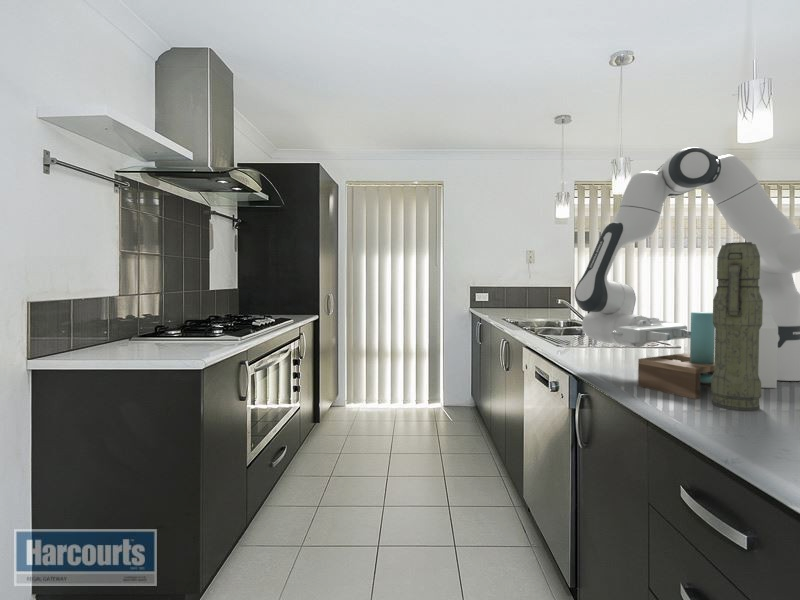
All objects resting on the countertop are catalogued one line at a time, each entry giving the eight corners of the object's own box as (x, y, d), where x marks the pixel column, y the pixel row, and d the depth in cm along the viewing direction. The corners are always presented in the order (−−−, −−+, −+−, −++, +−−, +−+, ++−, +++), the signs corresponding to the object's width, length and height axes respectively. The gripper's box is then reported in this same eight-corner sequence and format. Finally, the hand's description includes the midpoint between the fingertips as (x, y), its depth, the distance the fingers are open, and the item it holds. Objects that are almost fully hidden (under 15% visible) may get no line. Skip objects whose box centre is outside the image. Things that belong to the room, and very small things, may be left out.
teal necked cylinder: (691, 377, 124) (692, 311, 124) (717, 380, 120) (719, 312, 120) (685, 380, 120) (686, 313, 120) (712, 383, 117) (713, 314, 116)
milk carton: (776, 388, 121) (778, 311, 120) (744, 387, 123) (746, 311, 122) (761, 382, 128) (763, 309, 127) (731, 381, 130) (732, 309, 129)
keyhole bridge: (684, 378, 134) (684, 353, 134) (742, 390, 120) (743, 361, 120) (638, 386, 126) (638, 358, 126) (695, 399, 113) (695, 368, 112)
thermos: (709, 408, 104) (712, 242, 103) (712, 397, 114) (714, 245, 112) (761, 415, 100) (765, 240, 98) (759, 402, 109) (763, 243, 108)
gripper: (607, 321, 133) (653, 325, 120) (658, 317, 141) (706, 321, 129) (606, 344, 133) (652, 351, 120) (658, 339, 142) (705, 345, 129)
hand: (680, 336), depth 125 cm, fingers open, 8 cm apart
